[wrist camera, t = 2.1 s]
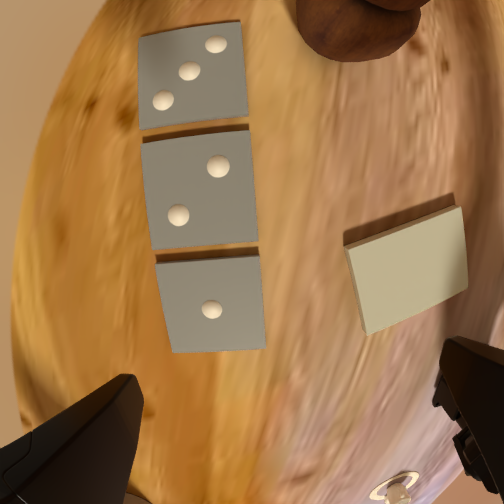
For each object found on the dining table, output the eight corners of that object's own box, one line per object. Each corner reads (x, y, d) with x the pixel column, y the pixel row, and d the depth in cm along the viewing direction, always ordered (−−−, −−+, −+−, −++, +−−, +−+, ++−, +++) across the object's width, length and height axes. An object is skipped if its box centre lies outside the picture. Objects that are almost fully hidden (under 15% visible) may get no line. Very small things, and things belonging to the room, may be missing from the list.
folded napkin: (453, 204, 19) (460, 206, 18) (461, 283, 21) (468, 287, 20) (343, 246, 20) (348, 249, 19) (362, 329, 22) (367, 335, 21)
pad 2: (249, 131, 18) (249, 130, 17) (258, 239, 20) (258, 241, 19) (143, 144, 18) (140, 143, 17) (154, 248, 20) (152, 250, 19)
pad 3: (259, 254, 20) (259, 256, 19) (265, 344, 22) (266, 348, 21) (156, 262, 20) (154, 264, 19) (174, 349, 22) (172, 352, 21)
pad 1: (240, 25, 16) (240, 21, 15) (248, 116, 18) (248, 114, 17) (140, 40, 16) (138, 37, 15) (142, 130, 18) (139, 129, 17)
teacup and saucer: (399, 494, 31) (406, 511, 27) (358, 503, 31) (364, 522, 27) (426, 465, 29) (436, 483, 25) (383, 474, 29) (391, 496, 25)
